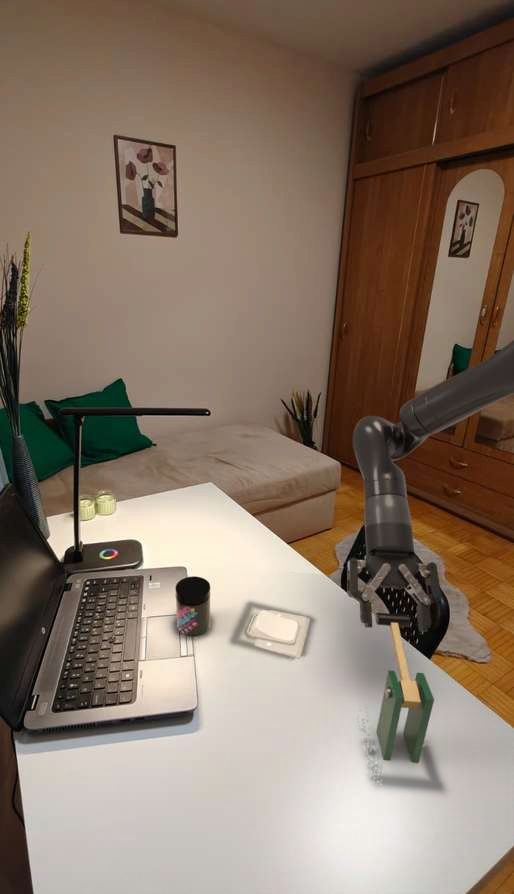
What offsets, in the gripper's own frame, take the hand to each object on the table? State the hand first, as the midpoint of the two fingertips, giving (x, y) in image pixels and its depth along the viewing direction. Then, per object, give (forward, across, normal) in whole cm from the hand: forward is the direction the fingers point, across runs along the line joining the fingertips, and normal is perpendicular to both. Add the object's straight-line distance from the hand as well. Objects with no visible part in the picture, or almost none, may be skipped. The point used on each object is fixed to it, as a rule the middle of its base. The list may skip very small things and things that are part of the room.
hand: (396, 629), depth 68 cm
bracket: (+17, 0, +5) cm, 18 cm away
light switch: (+2, -18, +21) cm, 28 cm away
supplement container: (+2, -34, +21) cm, 40 cm away
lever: (+4, 0, 0) cm, 4 cm away
